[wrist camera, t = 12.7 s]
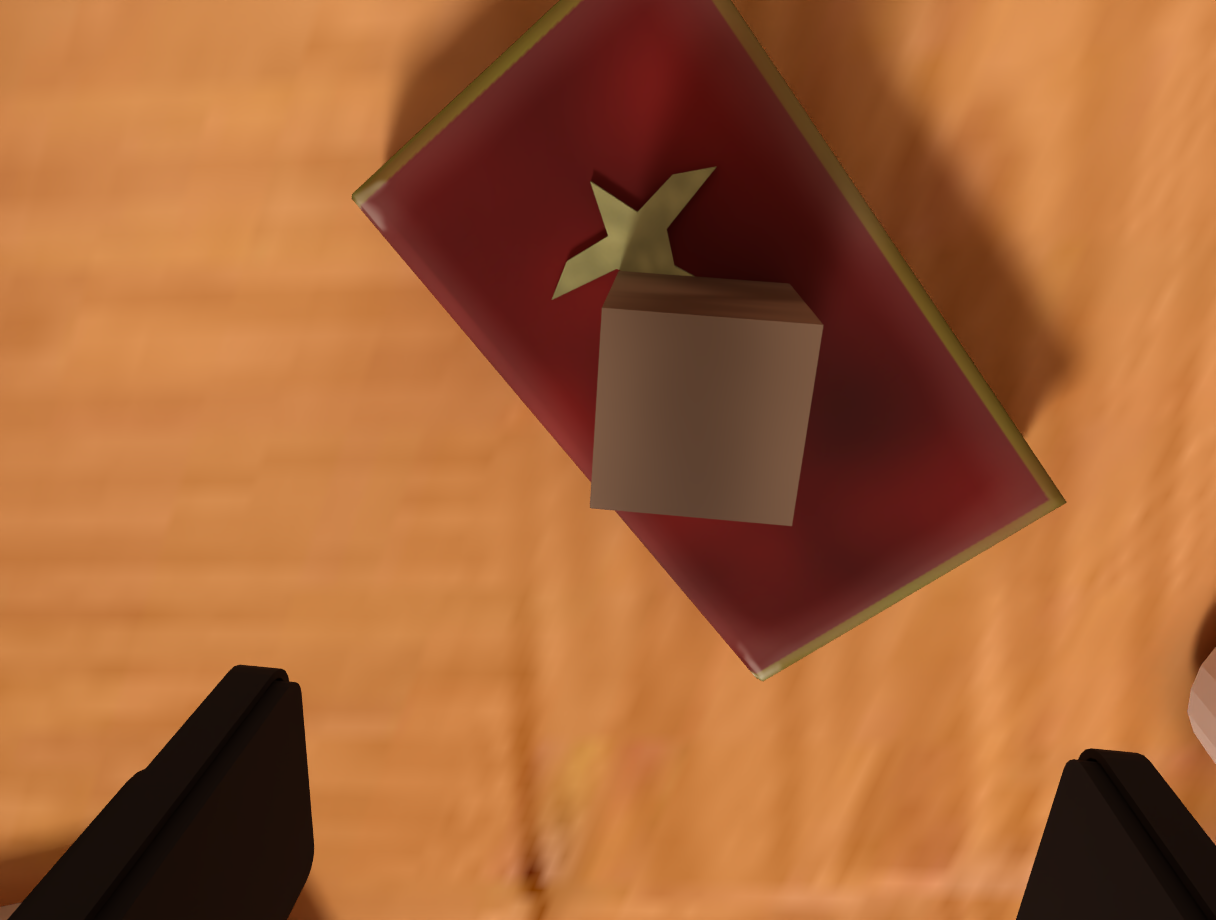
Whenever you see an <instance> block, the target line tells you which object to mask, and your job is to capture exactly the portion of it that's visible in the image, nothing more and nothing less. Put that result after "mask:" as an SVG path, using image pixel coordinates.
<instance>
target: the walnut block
mask: <svg viewBox="0 0 1216 920" xmlns="http://www.w3.org/2000/svg"><path fill="white" fill-rule="evenodd" d="M822 331H823V324H822V323H821V321H820V320H819V319H818V318H817V316H816V315H815V314H814V313H813V312H812V310H811V309H810V308H809V307H808V306H807V304H806V303H805V302H804V301H803V299H802V298H801V297H800V296H799V295H798V293H797V292H796V291H795V290H794V289H793V287H792V286H791V285H790V284H788V283H775V282H761V281H748V280H735V279H721V278H708V277H695V276H681V275H668V274H655V273H641V272H628V271H619V272H618V274H617V276H616V278H615V280H614V282H613V285H612V287H611V289H610V291H609V293H608V296H607V298H606V300H605V302H604V304H603V307H602V315H601V331H600V348H599V365H598V381H597V398H596V414H595V431H594V448H593V464H592V481H591V497H590V508H594V509H605V510H617V511H628V512H639V513H650V514H661V515H673V516H684V517H695V518H706V519H718V520H729V521H740V522H751V523H763V524H774V525H785V526H792V522H793V516H794V509H795V503H796V497H797V490H798V484H799V478H800V471H801V465H802V458H803V452H804V446H805V439H806V433H807V427H808V420H809V414H810V408H811V401H812V395H813V388H814V382H815V376H816V369H817V363H818V357H819V350H820V344H821V337H822Z"/></svg>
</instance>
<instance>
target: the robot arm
mask: <svg viewBox="0 0 1216 920" xmlns="http://www.w3.org/2000/svg"><path fill="white" fill-rule="evenodd" d="M313 856H314V838H313V826H312V814H311V802H310V790H309V777H308V765H307V753H306V741H305V729H304V717H303V705H302V693H301V688H300V686H299V684H298V683H296V682H289V678H288V675H287V673H286V671H285V670H283V669H278V668H268V667H258V666H248V665H237V666H234V667H233V668H232V669H231V670H230V671H229V672H228V673H227V674H226V675H225V677H224V678H223V679H222V680H221V681H220V682H219V684H218V685H217V686H216V687H215V688H214V689H213V691H212V692H211V693H210V694H209V695H208V696H207V698H206V699H205V700H204V701H203V702H202V703H201V705H200V706H199V707H198V708H197V709H196V710H195V712H194V713H193V714H192V715H191V716H190V717H189V719H188V720H187V721H186V722H185V723H184V724H183V726H182V727H181V728H180V729H179V730H178V731H177V733H176V734H175V735H174V736H173V737H172V738H171V740H170V741H169V742H168V743H167V744H166V745H165V747H164V748H163V749H162V750H161V751H160V752H159V754H158V755H157V756H156V757H155V758H154V759H153V761H152V762H151V763H150V764H149V765H148V766H147V768H146V769H144V770H141V771H139V772H137V773H136V774H135V775H134V776H133V777H132V778H131V779H129V780H128V781H127V782H126V783H125V785H124V786H123V787H122V788H121V789H120V790H119V791H118V793H117V794H116V795H115V796H114V797H113V798H112V799H111V801H110V802H109V803H108V804H107V805H106V806H105V808H104V809H103V810H102V811H101V812H100V813H99V814H98V816H97V817H96V818H95V819H94V820H93V821H92V823H91V824H90V825H89V826H88V827H87V828H86V829H85V831H84V832H83V833H82V834H81V835H80V836H79V837H78V839H77V840H76V841H75V842H74V843H73V844H72V846H71V847H70V848H69V849H68V850H67V851H66V852H65V854H64V855H63V856H62V857H61V858H60V859H59V860H58V862H57V863H56V864H55V865H54V866H53V867H52V869H51V870H50V871H49V872H48V873H47V874H46V875H45V877H44V878H43V879H42V880H41V881H40V882H39V884H38V885H37V886H36V887H35V888H34V889H33V890H32V892H31V893H30V894H29V895H28V896H27V897H26V898H25V900H24V901H23V902H22V903H21V904H20V905H19V907H18V908H17V909H16V910H15V911H14V912H13V913H12V915H11V916H10V917H9V918H8V919H7V920H287V918H288V916H289V914H290V912H291V910H292V908H293V906H294V904H295V902H296V900H297V898H298V896H299V894H300V892H301V890H302V889H303V887H304V885H305V883H306V880H307V878H308V876H309V873H310V870H311V866H312V862H313ZM1016 920H1216V846H1215V844H1214V843H1213V842H1212V840H1211V839H1210V838H1209V837H1208V835H1207V834H1206V833H1205V831H1204V830H1203V829H1202V828H1201V826H1200V825H1199V824H1198V822H1197V821H1196V820H1195V819H1194V817H1193V816H1192V815H1191V813H1190V812H1189V811H1188V810H1187V808H1186V807H1185V806H1184V804H1183V803H1182V802H1181V800H1180V799H1179V798H1178V797H1177V795H1176V794H1175V793H1174V791H1173V790H1172V789H1171V788H1170V786H1169V785H1168V784H1167V782H1166V781H1165V780H1164V779H1163V777H1162V776H1161V775H1160V773H1159V772H1158V771H1157V770H1156V768H1155V767H1154V766H1153V764H1152V763H1151V762H1150V761H1149V760H1148V759H1147V758H1146V757H1145V756H1144V755H1141V754H1139V753H1132V752H1122V751H1112V750H1102V749H1092V748H1091V749H1086V750H1085V751H1084V752H1083V753H1081V755H1080V757H1079V759H1078V760H1075V759H1074V760H1070V761H1068V762H1067V763H1066V765H1065V767H1064V770H1063V773H1062V776H1061V779H1060V782H1059V786H1058V789H1057V792H1056V795H1055V798H1054V801H1053V804H1052V808H1051V811H1050V814H1049V817H1048V820H1047V823H1046V827H1045V830H1044V833H1043V836H1042V839H1041V842H1040V846H1039V849H1038V852H1037V855H1036V858H1035V861H1034V864H1033V868H1032V871H1031V874H1030V877H1029V880H1028V883H1027V887H1026V890H1025V893H1024V896H1023V899H1022V902H1021V906H1020V909H1019V912H1018V915H1017V918H1016Z"/></svg>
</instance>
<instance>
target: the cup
mask: <svg viewBox="0 0 1216 920" xmlns="http://www.w3.org/2000/svg"><path fill="white" fill-rule="evenodd" d="M1187 712H1188V715H1189V719H1190V722H1191V725H1192V728H1193V732H1194V733H1195V735H1196V736H1197V738H1198V739H1199V741H1200V742H1201V744H1202V745H1203V747H1204V748H1205V750H1206V751H1207V753H1208V754H1209V755H1210V757H1211V758H1212V760H1213V761H1214V762H1215V764H1216V647H1215V649H1214V650H1213V651H1212V652H1211V653H1210V655H1209V656H1208V657H1207V658H1206V660H1205V661H1204V662H1203V663H1202V665H1201V667H1200V669H1199V671H1198V674H1197V676H1196V678H1195V680H1194V683H1193V685H1192V687H1191V692H1190V698H1189V704H1188V710H1187Z"/></svg>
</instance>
